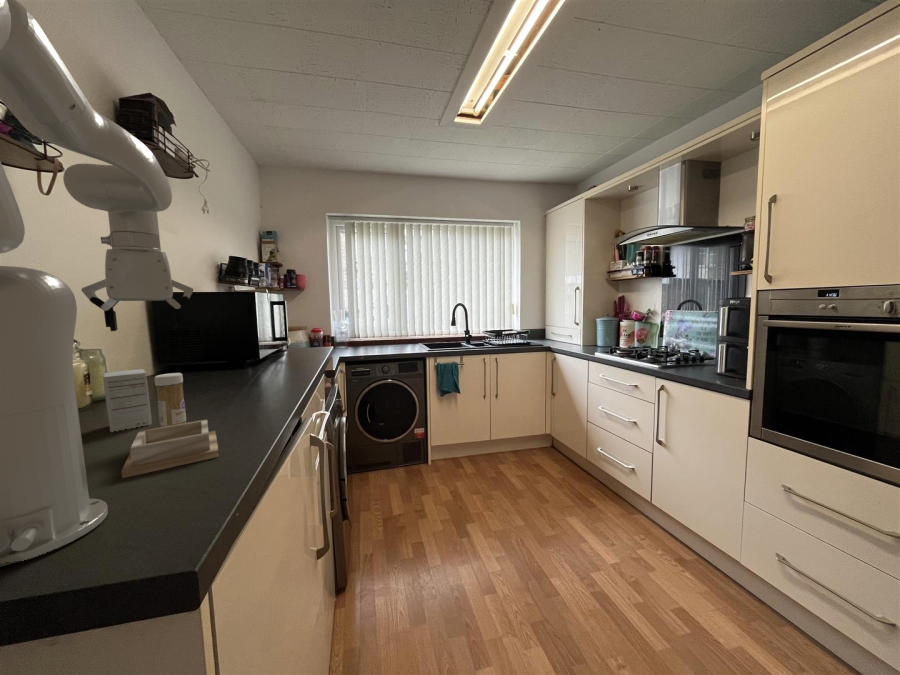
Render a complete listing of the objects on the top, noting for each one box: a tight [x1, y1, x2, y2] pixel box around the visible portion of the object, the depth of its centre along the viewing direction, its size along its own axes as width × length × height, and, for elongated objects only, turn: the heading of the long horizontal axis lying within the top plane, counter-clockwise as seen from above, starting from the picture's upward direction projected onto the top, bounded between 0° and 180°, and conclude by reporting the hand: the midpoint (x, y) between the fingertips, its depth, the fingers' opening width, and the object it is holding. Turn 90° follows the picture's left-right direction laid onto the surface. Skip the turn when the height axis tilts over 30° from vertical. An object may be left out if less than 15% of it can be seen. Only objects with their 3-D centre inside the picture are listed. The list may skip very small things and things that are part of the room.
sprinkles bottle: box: [154, 372, 187, 427], centre depth 74 cm, size 5×5×14 cm
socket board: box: [121, 419, 220, 479], centre depth 66 cm, size 13×13×4 cm
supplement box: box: [102, 368, 152, 433], centre depth 84 cm, size 7×7×13 cm
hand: (145, 329), depth 74 cm, fingers open, 9 cm apart
